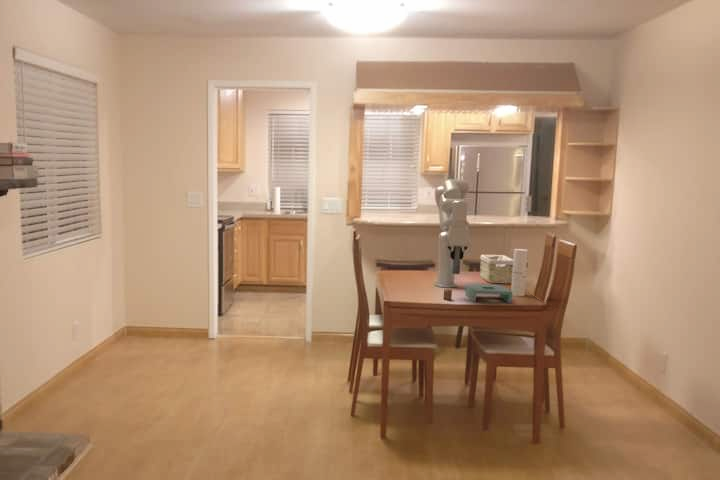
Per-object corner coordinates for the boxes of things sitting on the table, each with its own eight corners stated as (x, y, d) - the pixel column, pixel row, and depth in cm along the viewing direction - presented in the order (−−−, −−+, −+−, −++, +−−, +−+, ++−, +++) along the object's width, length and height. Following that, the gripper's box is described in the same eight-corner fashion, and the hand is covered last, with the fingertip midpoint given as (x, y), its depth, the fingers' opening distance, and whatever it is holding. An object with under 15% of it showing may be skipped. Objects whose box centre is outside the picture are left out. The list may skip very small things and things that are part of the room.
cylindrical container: (509, 293, 311) (512, 248, 308) (521, 293, 311) (524, 248, 308) (513, 296, 304) (516, 250, 301) (526, 296, 304) (529, 250, 301)
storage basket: (478, 276, 360) (479, 253, 359) (503, 277, 361) (504, 254, 359) (487, 283, 337) (489, 259, 335) (514, 284, 337) (515, 260, 335)
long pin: (451, 272, 297) (452, 246, 295) (458, 272, 297) (460, 246, 295) (452, 273, 293) (454, 247, 291) (460, 274, 293) (461, 247, 291)
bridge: (465, 295, 301) (466, 284, 300) (502, 296, 302) (503, 285, 301) (472, 302, 285) (473, 290, 284) (511, 303, 286) (512, 291, 285)
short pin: (442, 298, 292) (443, 289, 291) (450, 298, 292) (450, 289, 291) (444, 300, 288) (444, 290, 287) (452, 300, 288) (452, 291, 287)
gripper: (472, 223, 295) (470, 258, 298) (441, 222, 295) (439, 257, 297) (476, 225, 288) (474, 260, 290) (444, 224, 287) (442, 259, 290)
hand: (456, 258), depth 294 cm, fingers closed on long pin, 4 cm apart
